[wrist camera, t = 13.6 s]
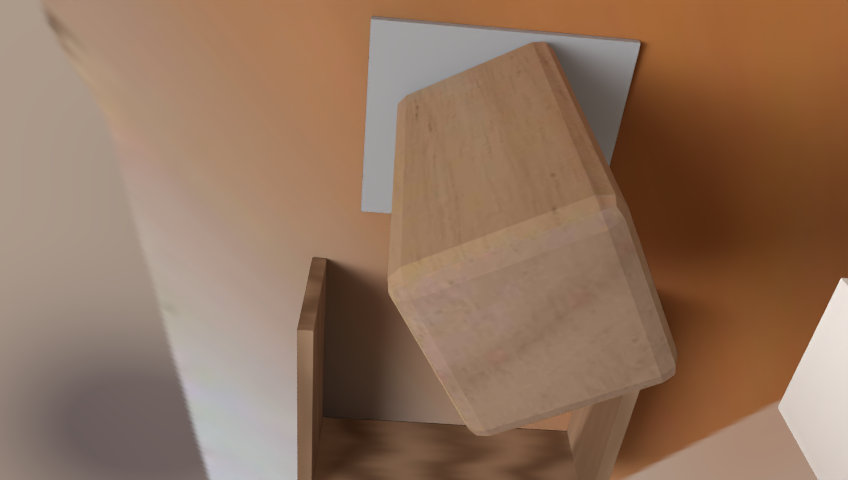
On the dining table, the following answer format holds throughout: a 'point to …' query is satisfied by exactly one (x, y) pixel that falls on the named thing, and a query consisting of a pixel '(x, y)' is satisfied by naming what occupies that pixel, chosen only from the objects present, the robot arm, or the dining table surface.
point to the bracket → (438, 431)
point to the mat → (468, 47)
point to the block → (519, 248)
